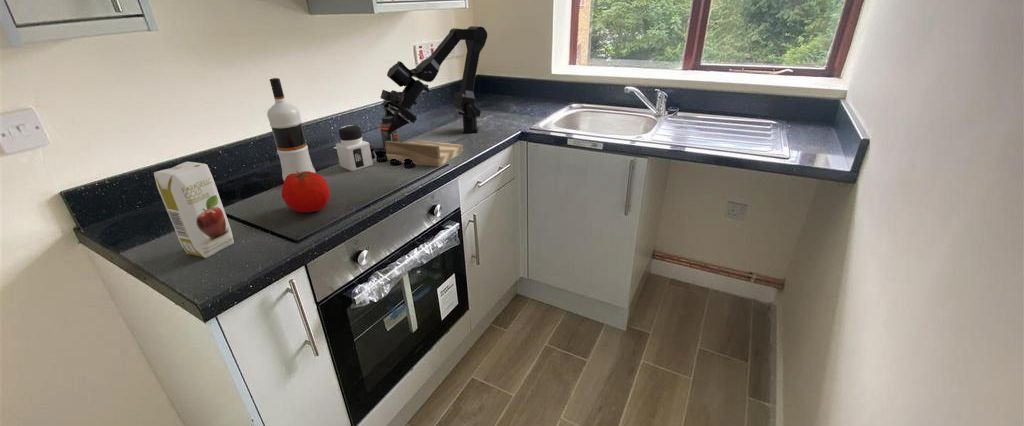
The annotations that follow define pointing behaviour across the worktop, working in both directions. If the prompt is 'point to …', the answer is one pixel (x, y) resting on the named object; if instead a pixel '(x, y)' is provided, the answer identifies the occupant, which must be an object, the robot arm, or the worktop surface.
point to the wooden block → (423, 152)
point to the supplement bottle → (384, 130)
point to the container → (353, 149)
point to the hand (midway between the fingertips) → (385, 130)
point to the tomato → (305, 191)
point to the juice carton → (194, 208)
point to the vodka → (288, 134)
